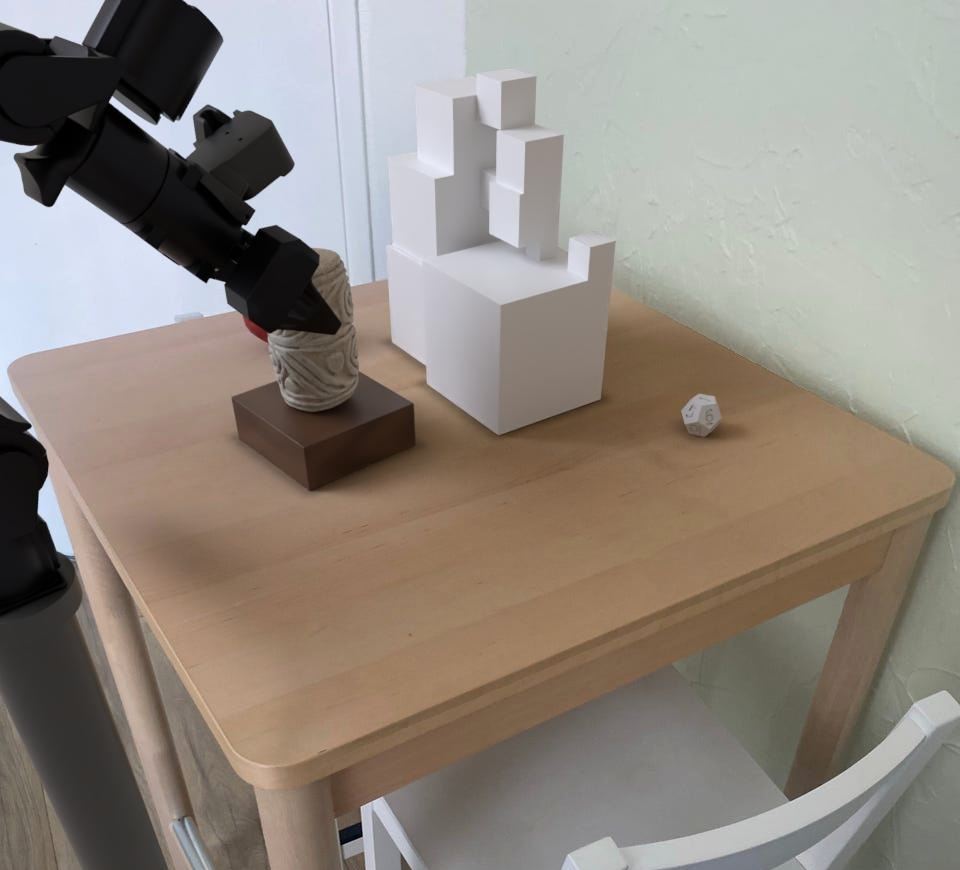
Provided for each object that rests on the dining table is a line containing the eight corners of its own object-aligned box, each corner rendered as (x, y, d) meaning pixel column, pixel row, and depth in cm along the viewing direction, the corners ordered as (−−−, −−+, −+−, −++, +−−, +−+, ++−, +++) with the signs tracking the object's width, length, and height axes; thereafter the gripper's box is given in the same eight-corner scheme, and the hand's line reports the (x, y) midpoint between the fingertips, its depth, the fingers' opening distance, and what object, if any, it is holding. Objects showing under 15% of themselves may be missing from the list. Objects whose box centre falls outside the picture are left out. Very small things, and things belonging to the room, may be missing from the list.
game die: (707, 445, 83) (712, 414, 81) (670, 431, 85) (675, 400, 83) (727, 429, 85) (733, 399, 83) (691, 416, 87) (696, 385, 85)
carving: (260, 406, 80) (236, 261, 72) (322, 372, 84) (306, 232, 76) (316, 429, 77) (298, 280, 69) (377, 393, 82) (366, 249, 74)
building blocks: (600, 399, 89) (629, 97, 73) (498, 435, 84) (503, 120, 68) (470, 319, 102) (469, 48, 86) (375, 346, 97) (354, 64, 81)
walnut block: (309, 491, 78) (303, 447, 75) (238, 438, 84) (230, 396, 81) (415, 445, 83) (414, 403, 80) (342, 398, 89) (338, 358, 86)
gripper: (273, 104, 56) (433, 255, 68) (149, 49, 67) (306, 188, 80) (173, 268, 58) (347, 387, 70) (68, 188, 69) (234, 303, 81)
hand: (308, 308), depth 75 cm, fingers open, 9 cm apart
